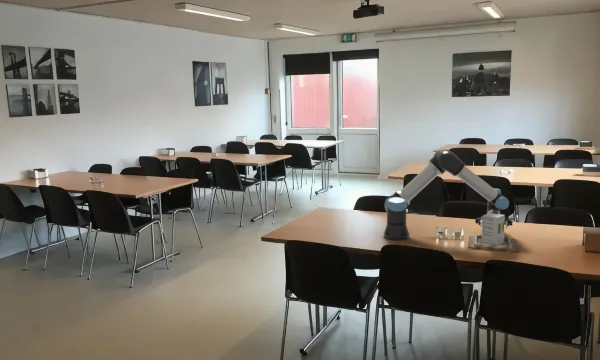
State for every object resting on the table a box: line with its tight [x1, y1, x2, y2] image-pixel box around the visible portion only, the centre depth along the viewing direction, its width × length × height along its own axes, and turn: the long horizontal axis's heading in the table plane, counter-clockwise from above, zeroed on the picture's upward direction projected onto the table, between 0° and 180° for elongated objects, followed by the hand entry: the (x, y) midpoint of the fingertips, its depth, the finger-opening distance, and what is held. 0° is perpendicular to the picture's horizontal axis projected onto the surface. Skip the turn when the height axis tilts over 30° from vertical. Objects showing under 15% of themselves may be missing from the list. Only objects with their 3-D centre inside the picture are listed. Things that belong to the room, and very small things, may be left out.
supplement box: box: [481, 213, 506, 245], centre depth 287 cm, size 10×9×17 cm
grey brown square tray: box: [467, 234, 519, 253], centre depth 291 cm, size 26×24×2 cm
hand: (493, 225), depth 289 cm, fingers open, 13 cm apart
